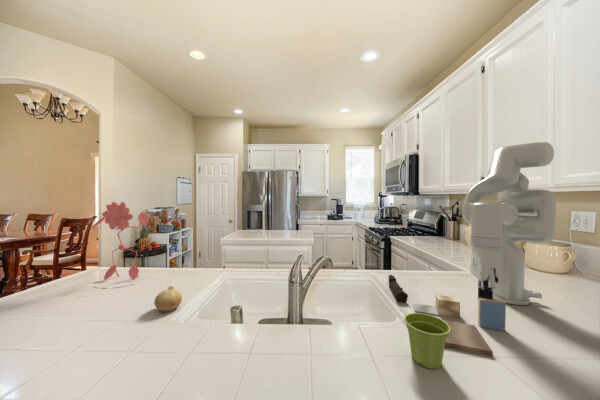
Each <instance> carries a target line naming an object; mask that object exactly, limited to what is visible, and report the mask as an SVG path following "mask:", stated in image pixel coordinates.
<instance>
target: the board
mask: <svg viewBox="0 0 600 400" xmlns="http://www.w3.org/2000/svg"><path fill="white" fill-rule="evenodd" d="M442 320H443V321H445V322H446V323H447V324H448V325H449V326H450V328H451V331H450V333H449V334H448V337H447V339H446V342H445V347H444V348H449V349H454V350H460V351H464V352H469V353H474V354H479V355H483V356H489V357H493V356H494V355H493V354H494V351H493V350H492V348H491V347H490V345H489V344H488V342H487V341H486V340H485V338H484V337H483V336H482V334H481V333H480V331H479V330H478V328H477V327H476V326H475V325H474V324H468V323H462V322H457V321H451V320H445V319H442Z"/></svg>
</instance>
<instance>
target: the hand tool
mask: <svg viewBox="0 0 600 400" xmlns="http://www.w3.org/2000/svg"><path fill="white" fill-rule="evenodd" d="M388 287H389V288H390V289H391V291H392V292H393V295H394V296H395V301H396V302H397V303H407V301H408V298H409V296H408V293H407V292H405V291H404V289H403V287H401V286H400V284H399V283H398V282H397V278H396V277H395V275H392V274H389V275H388Z"/></svg>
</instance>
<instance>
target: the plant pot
mask: <svg viewBox="0 0 600 400" xmlns="http://www.w3.org/2000/svg"><path fill="white" fill-rule="evenodd" d="M443 320H444V319H441V318H440V317H438V316H435V315H429V314H423V313H417V312H411V313H407V314H405V315H404V317H403V321H404V323H405V324H406V329H407V332H408V337H409V338H408V339H409V345H410V355H411V358H412V359H413V361H414V362H415V363H416V364H420V365H421V366H423V367H424V368H427V369H431V370H433V369H435V370H436V369H439V368H440V367H441V366H442V364H443V359H444V353H445V352H444V351H445V348H446V347H445V342H446V339H447V337H448V334H449V333H450V331H451V328H450V326H449V325H448V324H447V323H446V322H445V321H446V320H445V321H443Z"/></svg>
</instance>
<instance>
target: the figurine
mask: <svg viewBox="0 0 600 400" xmlns="http://www.w3.org/2000/svg"><path fill="white" fill-rule="evenodd" d="M101 216H102V217H101V218H99V219H98V220H97V221H96V222H95V223H94V224H93V225H92V227H91V229H94V228H96V227H97V226H99V225H100V224H101V223H103V222H104V223H105V224H106V225H107V224H108V226H109V229H110V230H114V229H115V230H116V231H118V230H119V231H118V232H117V237H118V240H119V243H120V244H119V245H118V247H117V248H116V249H114V250H113V251H112V252H111V254H112V255H111V257H112V265H111V266H110V267H109V268H108V270H106V272H105V274H104V277H103V280H104V281H106V280H108V279H109V278H111V277H112V276H113V275H114V274H115V273H116V276H117V277H120V274H119V273H118V270H117V269H118V266H117V264H114V263H115V261H114V252H116V251H117V250H120V251H124V250H128V251H131V252H134V253H135V258H134V261H133V265H132V266H130V267H129V270H128V276H129V277H130V279H131V280H133V281H135V280H136V278H139V272H140V270H139V267H138V265H136V261H137V255H138V251H135V250H132V249H130V248H127V245H126V244H125V243H122V240H121V237H120V233H122V232H123V231H124V230H126V229H128V228H134V229H141V225H143V226H146V227H147V226H148V223H149V220H150V219H149V216H148V214H146V212H140V213H139V214H138V217H137V220H138V222H139V225H138V226H134V225H133V226H131V225H130V222H129V221H130V220H132V219H133V218H134V215H133V214H131V213H130V207H127V205H126V202H125V201H122V202H120V203H119V204H118V203H117V202H115V201H112V202H111V204H106V210H105V211H103V212H102V213H101ZM133 285H135V284H134V283H132V284H131V286H133ZM128 286H130V285H129V284H128V285H127V287H128ZM124 287H125V285H124V286H116V287H114V289H119V288H124ZM94 288H95V289H97V287H96V286H94ZM105 289H106V287H102V290H105Z"/></svg>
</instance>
